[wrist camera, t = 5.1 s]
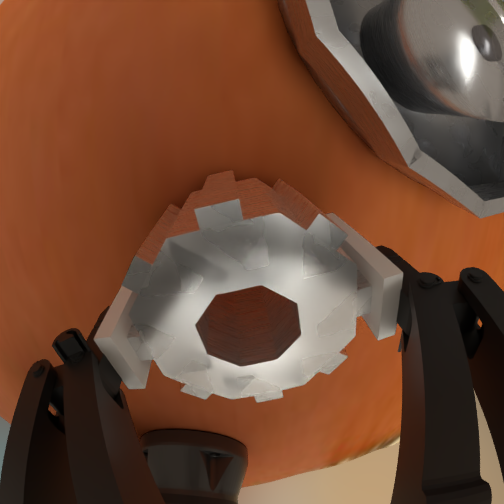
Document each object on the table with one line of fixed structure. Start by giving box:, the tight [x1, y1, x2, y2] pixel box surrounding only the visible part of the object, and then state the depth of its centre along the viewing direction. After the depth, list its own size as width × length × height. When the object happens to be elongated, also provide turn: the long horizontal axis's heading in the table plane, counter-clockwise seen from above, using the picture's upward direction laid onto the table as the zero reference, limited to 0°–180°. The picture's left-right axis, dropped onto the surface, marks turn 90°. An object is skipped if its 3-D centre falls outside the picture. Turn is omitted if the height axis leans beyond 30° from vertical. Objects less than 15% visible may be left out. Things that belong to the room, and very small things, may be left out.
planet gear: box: [122, 170, 372, 403], centre depth 12 cm, size 9×9×6 cm
